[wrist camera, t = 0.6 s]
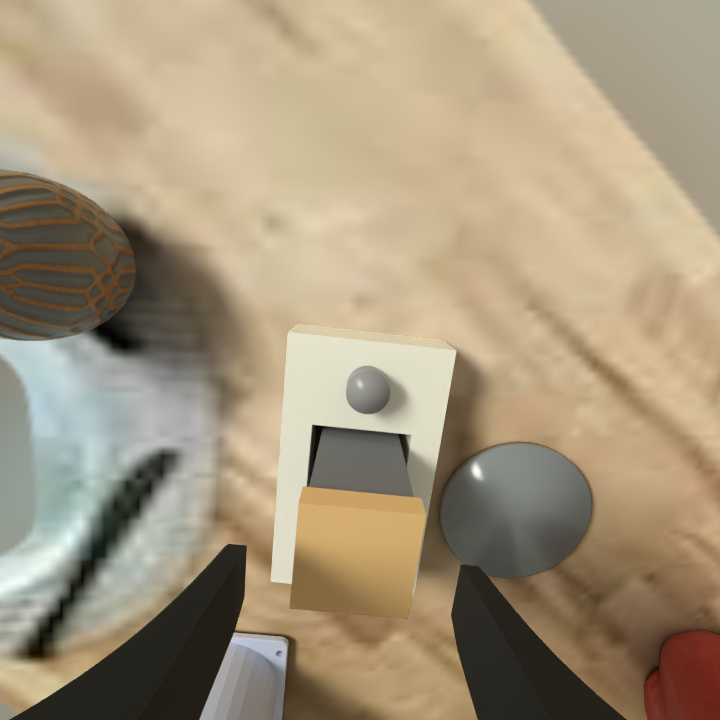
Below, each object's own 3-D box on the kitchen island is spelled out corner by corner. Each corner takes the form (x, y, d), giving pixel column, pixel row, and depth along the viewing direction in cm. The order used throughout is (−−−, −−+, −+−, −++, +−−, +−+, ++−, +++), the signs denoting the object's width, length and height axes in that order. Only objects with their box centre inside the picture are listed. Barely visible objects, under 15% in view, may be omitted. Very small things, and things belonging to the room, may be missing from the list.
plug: (388, 484, 22) (408, 618, 14) (316, 477, 22) (289, 608, 14) (398, 417, 21) (426, 515, 13) (323, 409, 21) (298, 502, 13)
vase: (170, 218, 19) (17, 172, 10) (145, 344, 20) (-8, 393, 12) (34, 173, 18) (-244, 85, 10) (18, 305, 20) (-236, 327, 11)
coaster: (566, 576, 24) (571, 584, 23) (429, 563, 24) (430, 571, 23) (602, 449, 22) (608, 454, 21) (452, 434, 22) (455, 438, 21)
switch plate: (407, 554, 24) (417, 614, 19) (281, 543, 23) (265, 600, 19) (442, 339, 20) (463, 355, 16) (298, 323, 20) (282, 335, 16)
